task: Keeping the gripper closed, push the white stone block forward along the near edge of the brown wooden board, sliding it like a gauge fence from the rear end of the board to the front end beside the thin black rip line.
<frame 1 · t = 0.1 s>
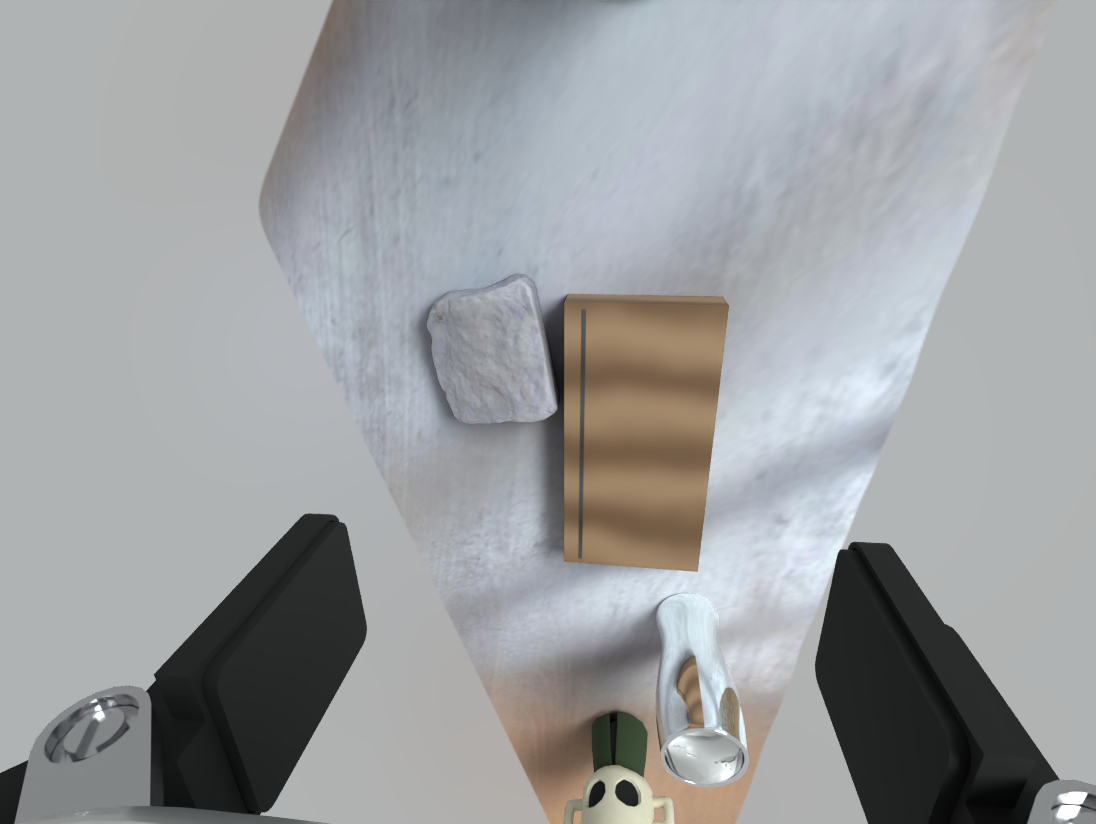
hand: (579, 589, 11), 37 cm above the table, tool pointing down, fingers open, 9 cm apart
brown wooden board: (636, 432, 49), on the table
beer glass: (686, 614, 57), on the table
character mug: (619, 726, 65), on the table
stone block: (495, 349, 49), on the table
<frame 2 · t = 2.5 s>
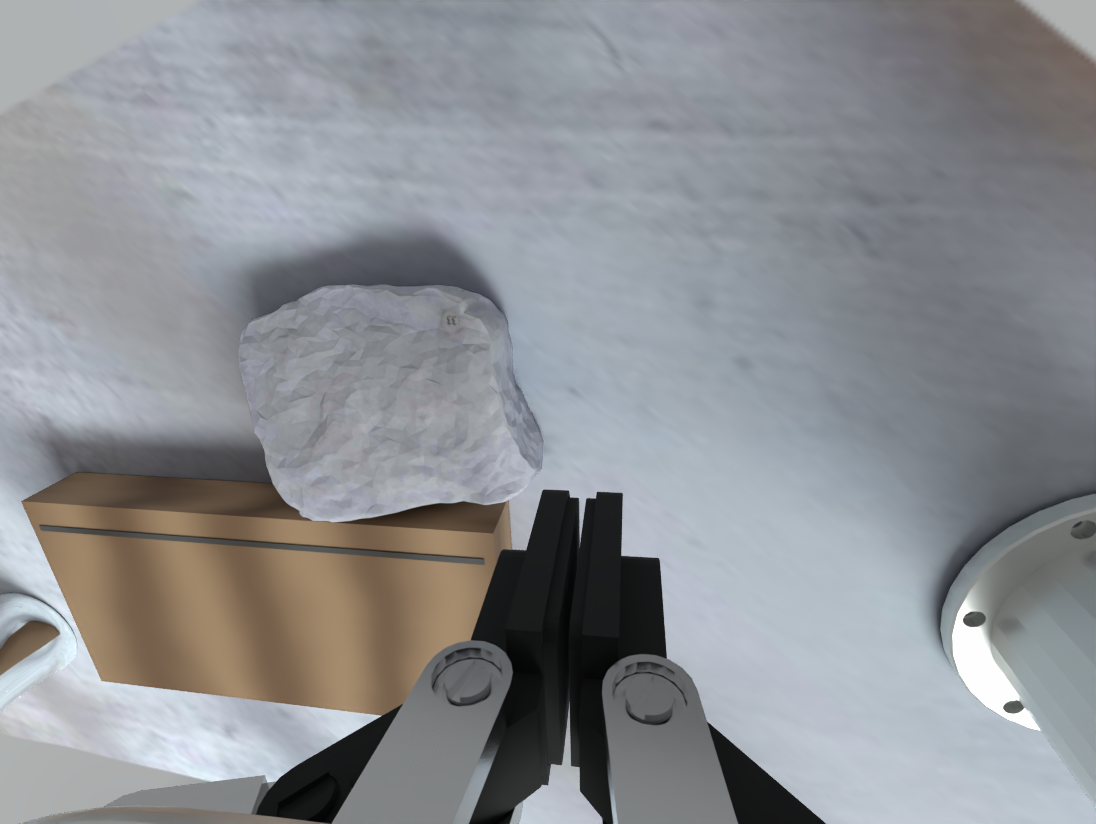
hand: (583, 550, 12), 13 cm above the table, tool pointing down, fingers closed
brown wooden board: (301, 579, 31), on the table
beer glass: (38, 627, 37), on the table
stone block: (405, 379, 26), on the table
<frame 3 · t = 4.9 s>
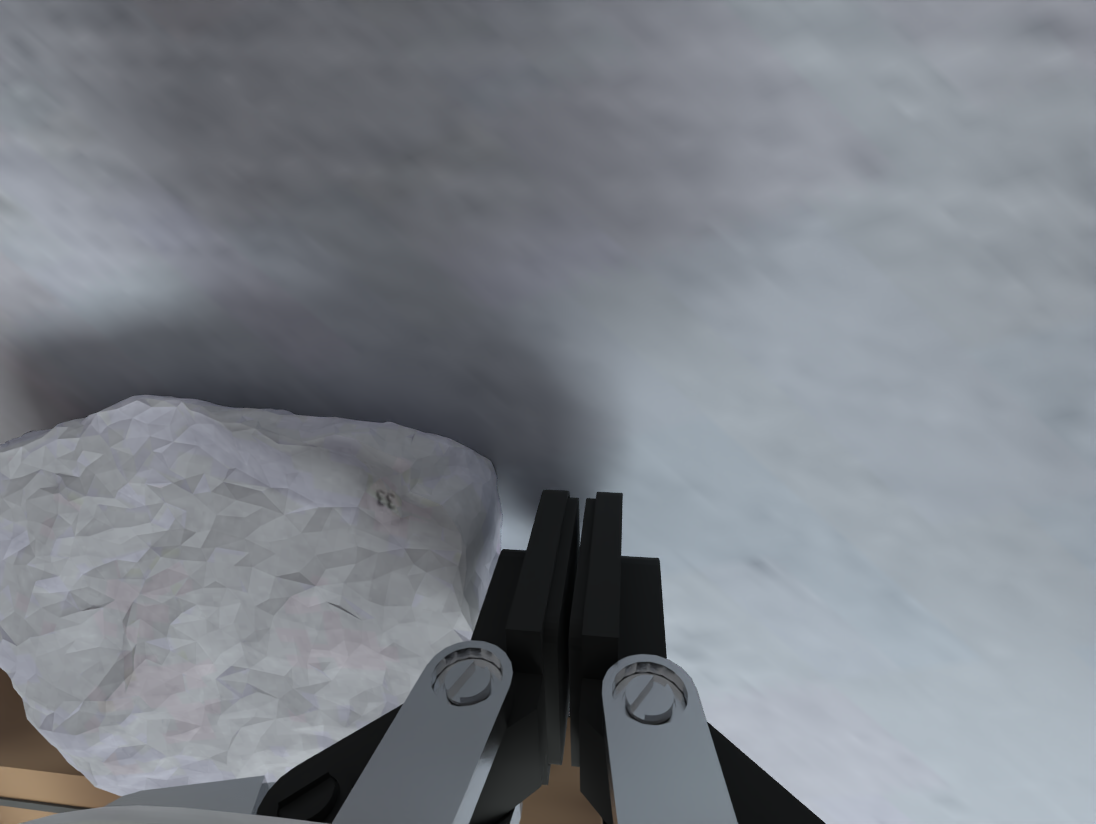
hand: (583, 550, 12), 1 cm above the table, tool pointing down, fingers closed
brown wooden board: (263, 811, 20), on the table
stone block: (310, 537, 15), on the table
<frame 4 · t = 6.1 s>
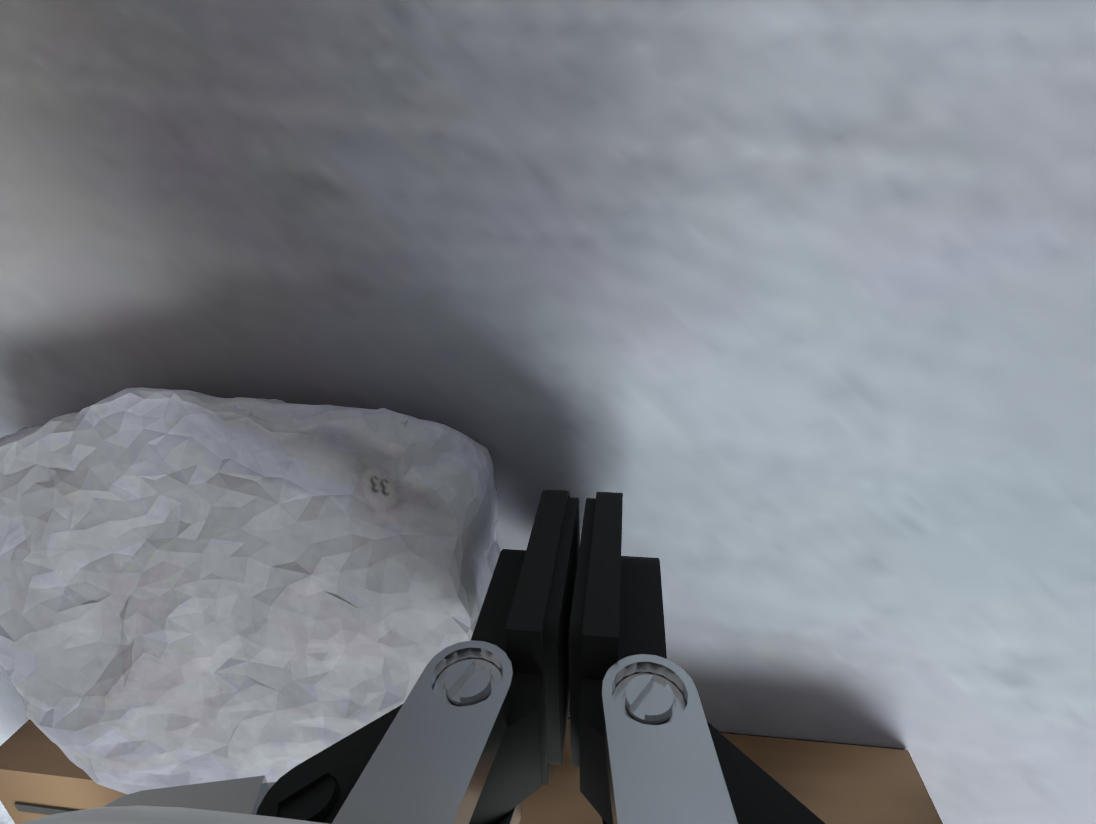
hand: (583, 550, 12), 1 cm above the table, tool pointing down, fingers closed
stone block: (308, 530, 15), on the table
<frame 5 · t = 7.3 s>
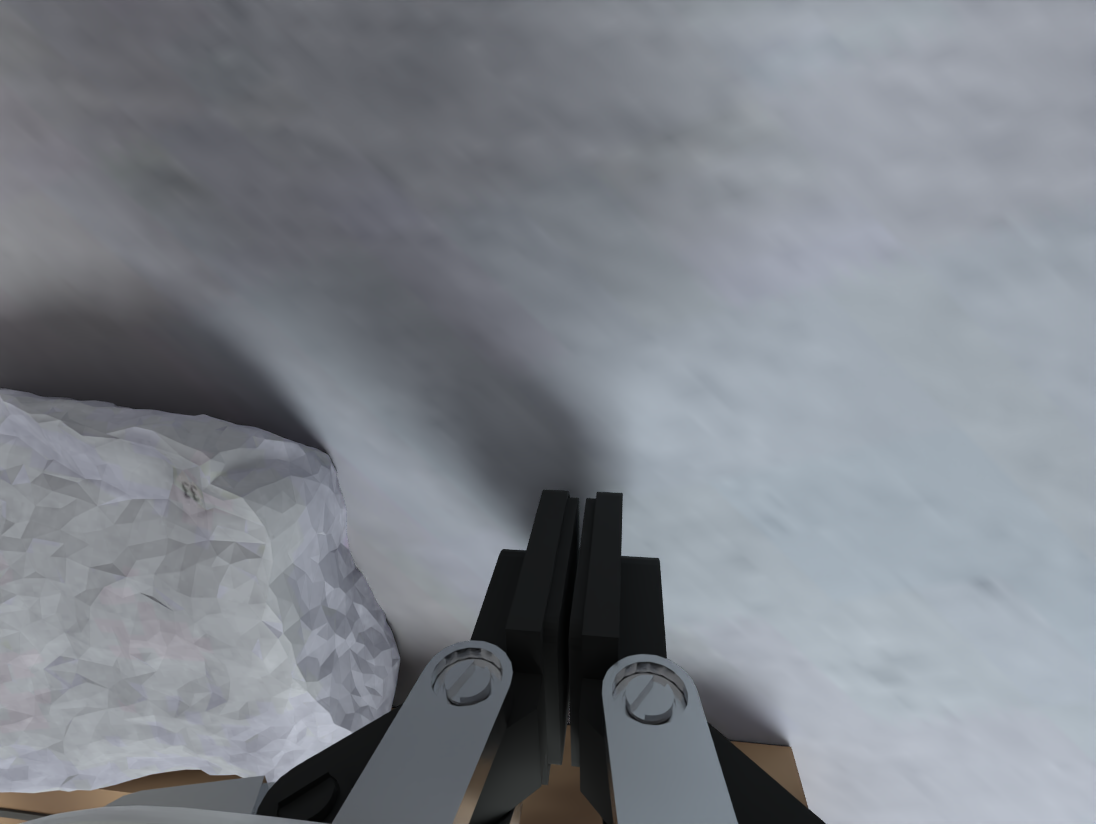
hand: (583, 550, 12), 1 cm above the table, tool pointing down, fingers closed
stone block: (171, 529, 15), on the table
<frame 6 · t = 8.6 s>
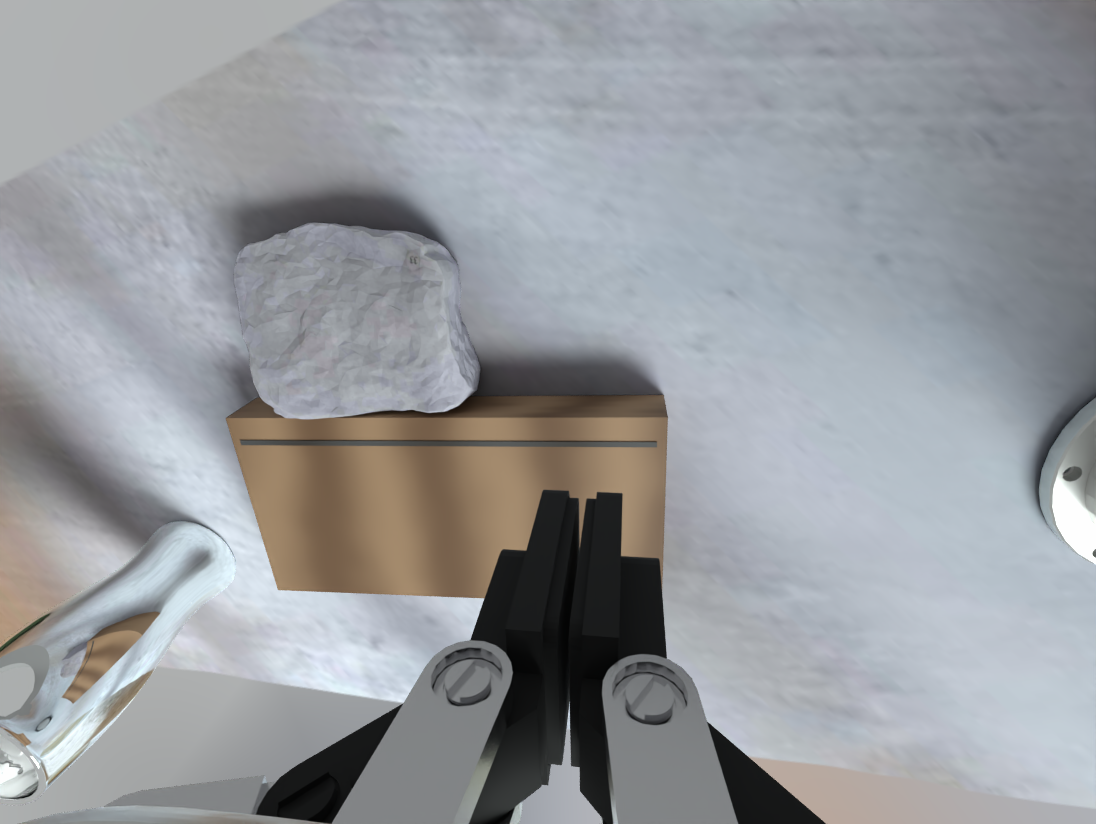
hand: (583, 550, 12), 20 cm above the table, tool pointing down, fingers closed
brown wooden board: (462, 486, 35), on the table
beer glass: (197, 554, 40), on the table
stone block: (370, 309, 32), on the table, touching brown wooden board
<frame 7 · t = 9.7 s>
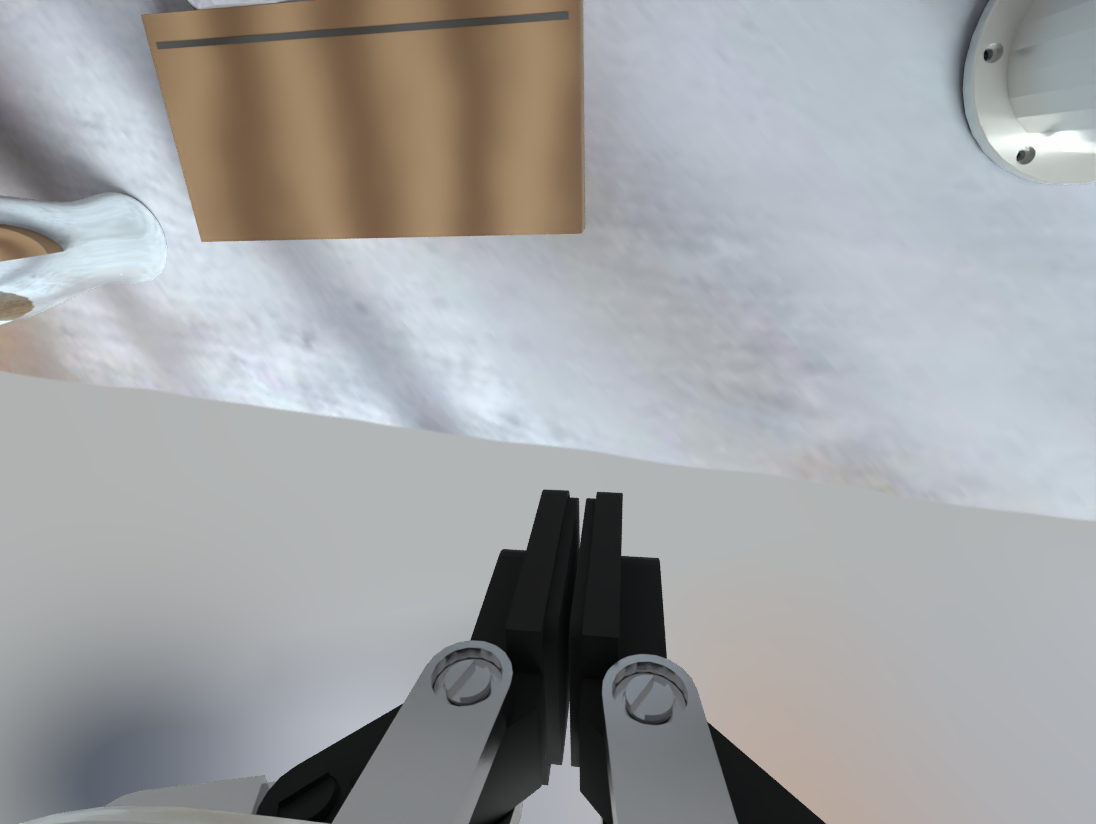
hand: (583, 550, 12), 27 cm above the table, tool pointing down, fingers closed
brown wooden board: (387, 129, 35), on the table
beer glass: (129, 238, 40), on the table
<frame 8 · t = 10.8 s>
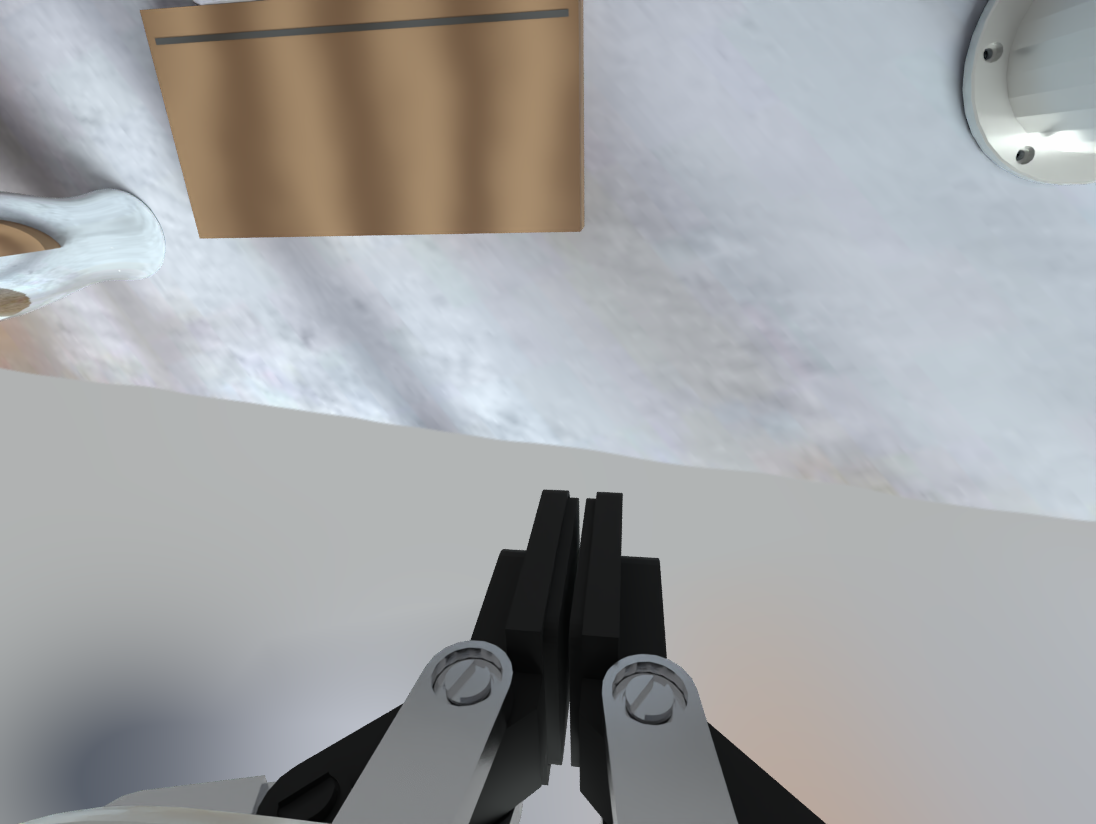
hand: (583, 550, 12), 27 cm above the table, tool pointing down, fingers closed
brown wooden board: (386, 126, 35), on the table
beer glass: (127, 234, 40), on the table
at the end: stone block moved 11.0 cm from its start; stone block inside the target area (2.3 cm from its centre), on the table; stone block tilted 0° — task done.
